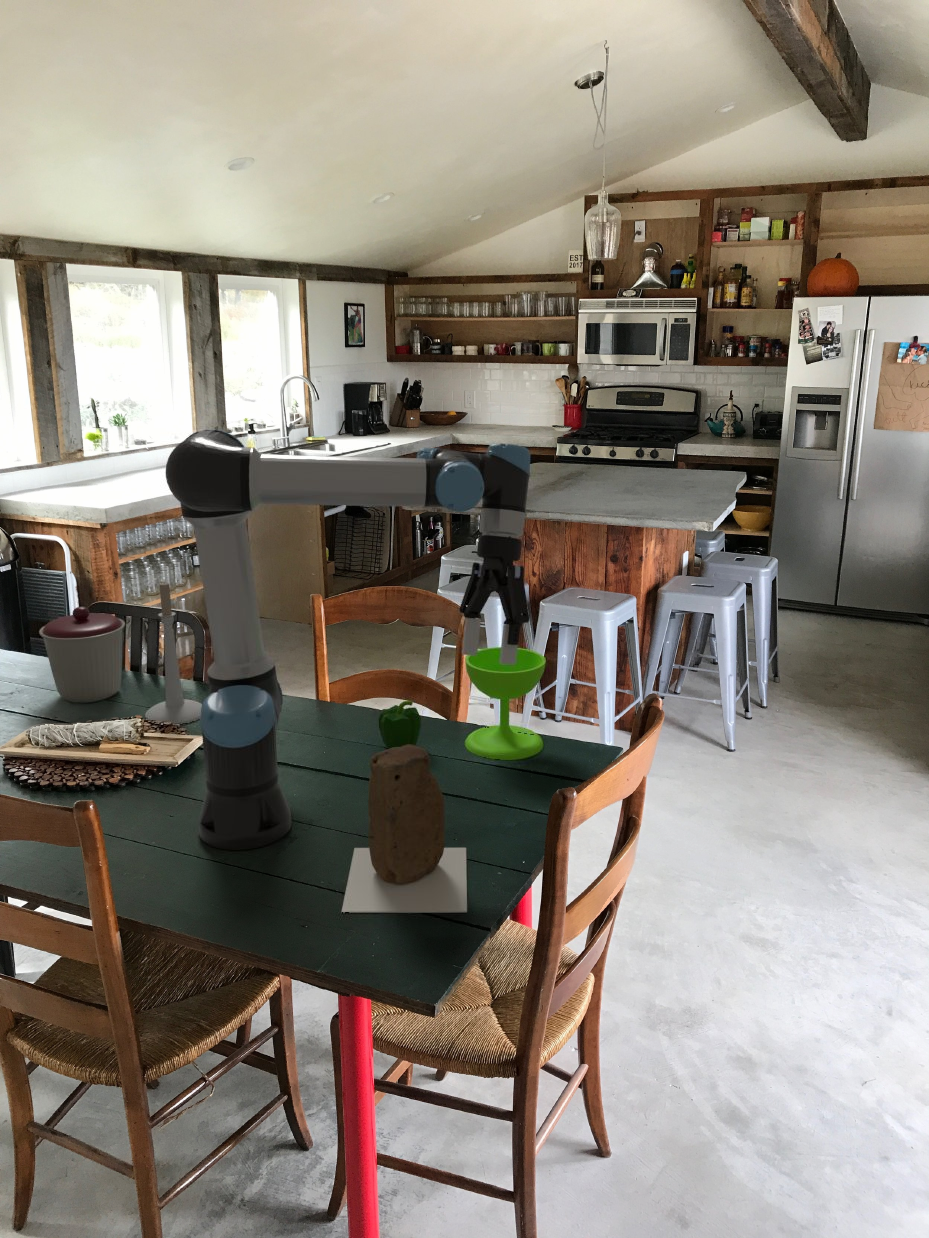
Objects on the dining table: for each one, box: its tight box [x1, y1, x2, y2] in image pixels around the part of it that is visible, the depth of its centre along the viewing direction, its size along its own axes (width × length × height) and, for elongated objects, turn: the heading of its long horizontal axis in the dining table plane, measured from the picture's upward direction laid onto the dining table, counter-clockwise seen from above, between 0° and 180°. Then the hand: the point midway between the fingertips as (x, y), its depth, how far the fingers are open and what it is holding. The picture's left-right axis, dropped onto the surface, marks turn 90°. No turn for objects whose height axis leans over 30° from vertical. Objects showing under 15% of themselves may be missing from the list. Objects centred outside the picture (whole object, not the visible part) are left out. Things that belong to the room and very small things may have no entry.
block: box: [368, 744, 446, 884], centre depth 147 cm, size 11×8×20 cm
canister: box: [38, 606, 126, 704], centre depth 221 cm, size 18×18×21 cm
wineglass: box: [464, 646, 547, 761], centre depth 195 cm, size 16×16×18 cm
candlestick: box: [144, 581, 203, 724], centre depth 208 cm, size 13×13×30 cm
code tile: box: [341, 847, 468, 914], centre depth 148 cm, size 18×18×1 cm
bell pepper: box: [378, 700, 422, 749], centre depth 194 cm, size 8×8×10 cm
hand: (487, 659), depth 167 cm, fingers open, 13 cm apart
